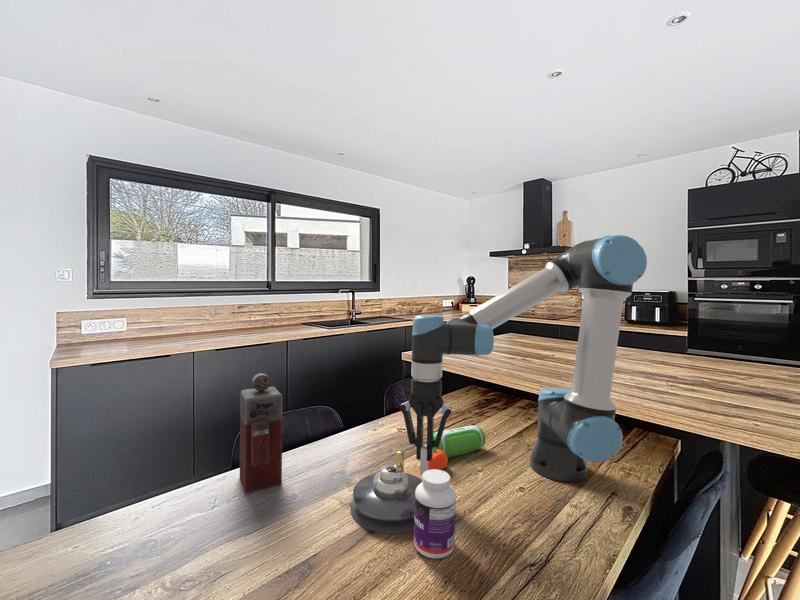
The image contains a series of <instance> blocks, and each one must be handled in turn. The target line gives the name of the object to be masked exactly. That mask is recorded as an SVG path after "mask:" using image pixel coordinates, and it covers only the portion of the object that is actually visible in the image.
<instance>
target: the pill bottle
mask: <svg viewBox="0 0 800 600" xmlns="http://www.w3.org/2000/svg"><path fill="white" fill-rule="evenodd" d="M421 479H422V483H420V484H419V485H418V486H417V488H416V491H415V519H414V531H413V544H414V547H415V549H416V550H417V551H418V553H420V555H422V556H424V557H425V558H429V559H443V558H446V557H447V556H449V555H451V553H452V552H453V550H454V548H455V542H456V539H455V538H456V535H455V534H456V509H457V508H456V505H457V504H456V503H457V492H456V491H455V488H454V487H453V486H452V485H451V476H450V474H449V473H448V472H447V471H445V470H443V469H442V470H437V469H432V470H427V471H425V472H424V473H423V475H421Z"/></svg>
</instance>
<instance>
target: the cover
mask: <svg viewBox="0 0 800 600" xmlns="http://www.w3.org/2000/svg"><path fill="white" fill-rule="evenodd" d="M376 473H377V474H376V475H375V476H374V490H373V491H374V494H375V496H377V497H378V498H380V499H383V500H388V501H394V500H399V499H402V498H404V497H405V496H406V495H407V493H408V476H407V475H406V474H405V473H406V472H404V473H403V472H402V468H401V467H400V466H398V465H396V464H394V463H393V464H392V463H391V464H385V465H382V466H381V467H380V468H379V471H378V472H376Z"/></svg>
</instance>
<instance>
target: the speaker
mask: <svg viewBox="0 0 800 600" xmlns="http://www.w3.org/2000/svg"><path fill="white" fill-rule="evenodd" d="M437 432H438V431H435V432H433V440H436V436H437ZM485 444H486V435H485V432H484V430H483V429H482V427H480V426H478V425H465V426H461V427H456V428H450V429H444V431H443V434H442V438H441V441H440V444H439V447H436V449H439V450H442V451H443V452H444V453H445V454H446V456H447V458H452V457H457V456H461V454H462V455H466V454H469V452H470V453H471V452H474V451H477V450H480V449H481V448H483V447H484V446H485ZM465 453H466V454H465Z"/></svg>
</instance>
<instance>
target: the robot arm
mask: <svg viewBox="0 0 800 600" xmlns="http://www.w3.org/2000/svg"><path fill="white" fill-rule="evenodd" d="M647 266H648V257H647V253H646V252H645V249H644V248H643V247H642V246H641V244H640V243H639V242H638V241H637V240H636V239H634V238H633V237H630V236H627V235H623V234H621V235H620V234H616V235H604V236H603V237H600V238H594V239H590V240H584V241H582V242H579V243H577V244H575V245H573V246H572V247H570V248H568V249H567V250H565V251H564V252H563V253H561V254H559V255H557V256H556V257H555V258H553V259H551V260H550V261H547V262H545V266H544V268H543V269H541V270H539V271H537V272H536V273H533V274H532V275H531V276H529V277H526V278H525V279H523V280H522V281H520V282H518V283H517V284H514V285H513V286H511V287H509V288H508V289H505V290H504V291H502V292H501V293H499V294H497V295H495V296H493V297H492V298H490V299H488V300H487V301H485V302H483V303H481V304H479V305H477V306H476V307H474V308H472V309H471V310H469V311H467V312H466V313H464V314H461V315H459V316H458V317H453V318H451V319H448V320H447V321H446V322H445V319H444V317H443V316H442V315H438V314H418V315H416V316H414V317H413V320H412V321H413V322H412V332H411V335H412V336H411V369H410V370H411V371H410V372H411V377H412V378H411V380H410V382H411V383H410V397H409V398H408V400H407V401H406V402H402V403H401V404H400V405H399V410H400V411H401V413H402V415H403V419H404V423H405V427H406V433H407V437H408V443H409V444H410V445H413V446H415V447H416V448H415V449H416V450H415V451H416V455H415V458H416V460H419V462H420V465H419V466H420V467H419V475H420V476H422V475H423V473H424V472H425V471H427V470H428V461H431V460H432V456H433V448H434V447H439V444H440V441H441V438H442V434H443V431H444V430H445V427H446V423H447V419H448V418H449V417H450V415H451V414H452V411H453V408H452V407H451V406H448V405H446V404H445V403H444V399H443V397H442V394H443V393H442V392H443V391H442V389H443V381H442V379H441V378H442V377H443V357H444V355H455V356H456V355H457V356H476V357H479V356H487V355H490V354H492V352H493V349H494V344H495V337H494V331H493V330H494V329H495V328H497V327H499V326H501V325H503V324H505V323H506V322H508V321H509V320H511V319H514V318H515V317H516V316H519V315H520V314H522V313H525V312H526V311H528V310H529V309H530V308H532V307H534V306H536V305H538V304H539V303H542V302H544V301H545V300H547V299H549V298H551V297H552V296H553V295H555V294H557V293H559V292H561V293H567V292H569V291H570V290H572V289H574V288H577V287H578V288H577V289H578V291H579V292H580V294H581V295H582V296H583V301H582V308H581V317H580V324H579V331H578V338H577V339H578V340H577V346H576V347H577V348H576V353H575V361H574V369H573V376H572V377H573V378H572V383H571V384H572V385H571V388H568V387H567V388H565V387H545V388H542V389H540V391H539V394H538V399H537V401H538V404H537V405H538V406H537V407H538V409H537V411H538V412H537V438H536V441H535V443H534V445H533V448H532V451H531V453H530V457H529V465H530V468H531V469H532V470H533V471H534V472H536V473H537V474H539V475H540V476H543V477H545V478H548V479H550V480H553V481H554V480H555V481H558V482H564V483H575V482H581V481H583V480H585V479H587V477H588V463H587V462H590V463H601V462H605V461H608V460H609V459H610V458H611V457H613V456H615V455H616V454H617V453H618V452H619V450H620V449H621V446H622V444H623V439H624V438H623V437H624V436H623V431H622V429H621V428H620V425H619V424H618V423H617V422H616V421H615V420H616V419H615V417H616V409H617V406H616V404H615V403H614V402H613V400H611V392H612V386H613V381H614V380H613V378H614V373H615V372H614V371H615V364H616V357H617V352H618V351H617V350H618V349H617V348H618V341H619V336H620V335H619V334H620V328H621V321H622V320H621V318H622V313H623V305H624V301H625V300H626V299H628V297H630V296H632V294H633V288H634V287H633V286H634V283H636V282H637V281H639V280H640V278H642V277H643V276H644V274H645V272H646V270H647ZM411 408H412V410H413V411H414V413H415V414H416V432H415V427H414V423H413V418H412V413H411ZM440 410H441V413H440V414H441V415H442V417H441V419H440V422H439V426H438V430H437V431H436V432H437V436H436V440H433V433H434V428H435V427H434V421H435V420H434V419H435V416H436V414H437V413H438V412H439V411H440ZM425 417H426V422H427V423H426V443H424V420H425V419H424V418H425Z"/></svg>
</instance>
